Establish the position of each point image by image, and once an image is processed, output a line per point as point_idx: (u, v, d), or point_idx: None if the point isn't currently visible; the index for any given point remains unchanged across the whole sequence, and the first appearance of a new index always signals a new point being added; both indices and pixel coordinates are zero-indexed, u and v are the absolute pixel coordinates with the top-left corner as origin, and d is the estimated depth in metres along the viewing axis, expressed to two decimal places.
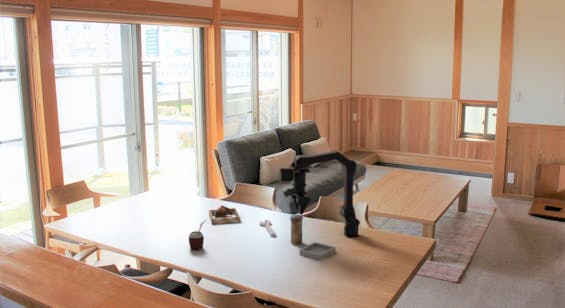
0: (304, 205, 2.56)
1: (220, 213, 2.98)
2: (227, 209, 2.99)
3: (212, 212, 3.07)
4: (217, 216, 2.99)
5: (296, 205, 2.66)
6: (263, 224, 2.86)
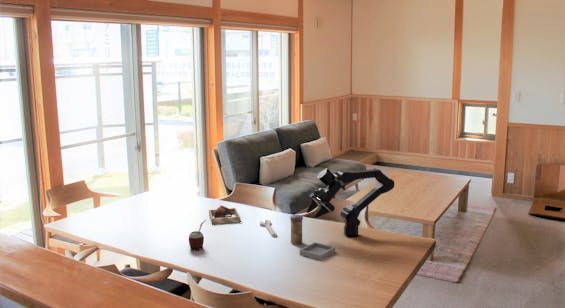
0: (323, 212, 2.56)
1: (219, 213, 2.98)
2: (226, 209, 2.99)
3: (212, 212, 3.07)
4: (216, 216, 2.99)
5: (309, 209, 2.65)
6: (263, 224, 2.86)
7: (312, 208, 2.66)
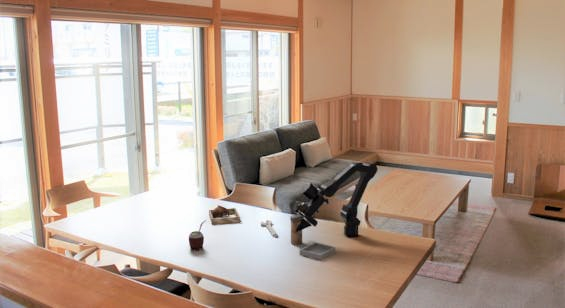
0: (305, 225, 2.56)
1: (217, 213, 2.98)
2: (224, 209, 3.00)
3: (212, 212, 3.07)
4: (214, 216, 2.99)
5: None
6: (264, 224, 2.86)
7: None
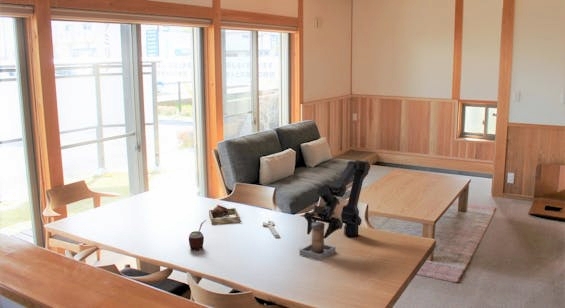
0: (332, 230, 2.43)
1: (217, 213, 2.99)
2: (224, 208, 3.01)
3: None
4: (214, 216, 3.00)
5: (309, 230, 2.48)
6: (266, 225, 2.85)
7: (311, 228, 2.49)
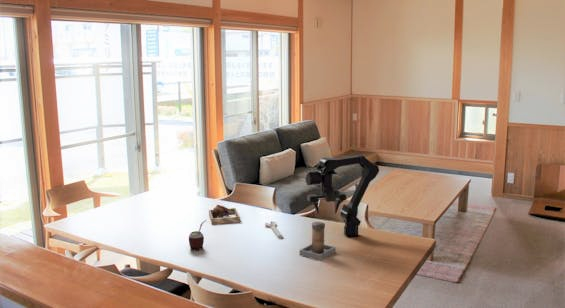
0: None
1: (217, 212, 2.99)
2: (224, 208, 3.01)
3: None
4: (214, 215, 3.00)
5: None
6: (269, 225, 2.84)
7: None
